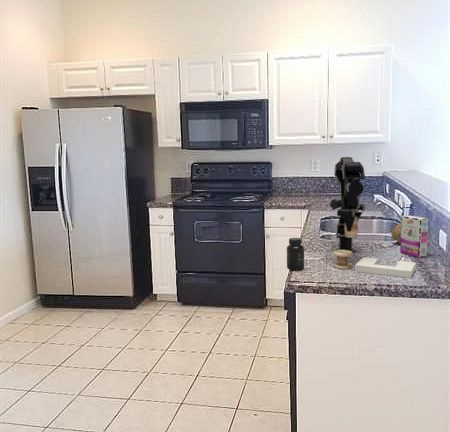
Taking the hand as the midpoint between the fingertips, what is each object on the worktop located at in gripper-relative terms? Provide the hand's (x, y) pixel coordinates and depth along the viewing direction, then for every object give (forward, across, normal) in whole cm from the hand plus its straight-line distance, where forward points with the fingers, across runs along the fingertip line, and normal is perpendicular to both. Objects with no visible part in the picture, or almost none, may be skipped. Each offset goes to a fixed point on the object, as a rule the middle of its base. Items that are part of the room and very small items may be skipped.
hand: (351, 230), depth 198 cm
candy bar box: (+13, -20, +21) cm, 32 cm away
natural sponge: (+13, -37, +13) cm, 41 cm away
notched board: (+12, +9, +16) cm, 23 cm away
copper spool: (+2, 0, 0) cm, 2 cm away
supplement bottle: (+13, +23, -15) cm, 30 cm away
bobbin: (+12, +12, +1) cm, 17 cm away
